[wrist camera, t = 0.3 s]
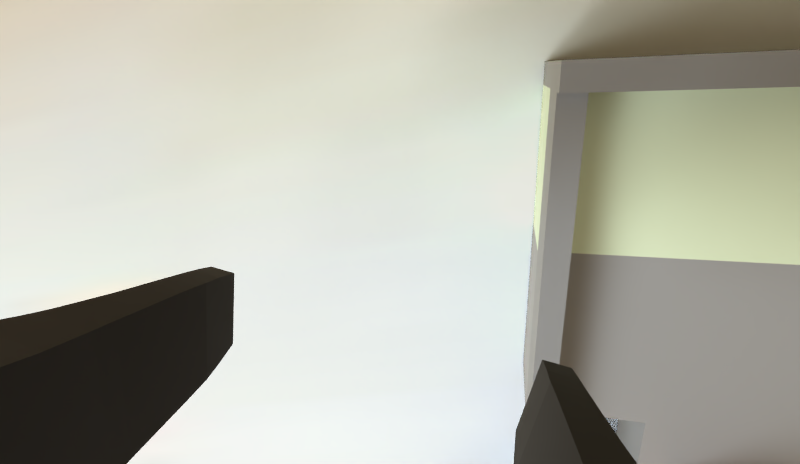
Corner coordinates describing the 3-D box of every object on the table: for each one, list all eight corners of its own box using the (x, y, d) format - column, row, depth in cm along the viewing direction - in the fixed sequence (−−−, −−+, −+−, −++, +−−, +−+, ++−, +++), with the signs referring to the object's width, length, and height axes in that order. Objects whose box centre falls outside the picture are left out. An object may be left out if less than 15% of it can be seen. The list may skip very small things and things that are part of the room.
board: (865, 568, 20) (982, 733, 15) (513, 504, 24) (514, 620, 19) (1138, 35, 12) (1576, 14, 7) (544, 61, 16) (561, 60, 11)
